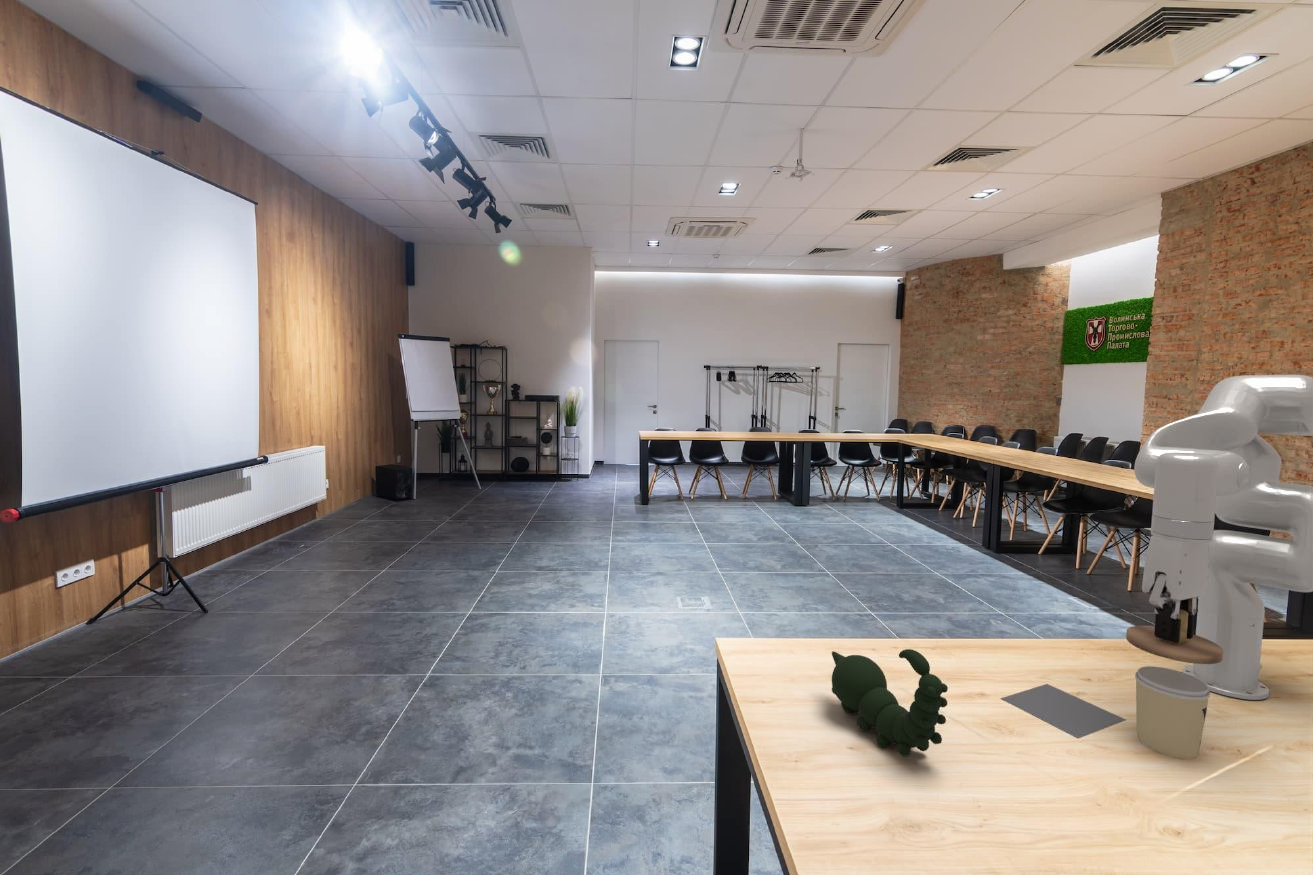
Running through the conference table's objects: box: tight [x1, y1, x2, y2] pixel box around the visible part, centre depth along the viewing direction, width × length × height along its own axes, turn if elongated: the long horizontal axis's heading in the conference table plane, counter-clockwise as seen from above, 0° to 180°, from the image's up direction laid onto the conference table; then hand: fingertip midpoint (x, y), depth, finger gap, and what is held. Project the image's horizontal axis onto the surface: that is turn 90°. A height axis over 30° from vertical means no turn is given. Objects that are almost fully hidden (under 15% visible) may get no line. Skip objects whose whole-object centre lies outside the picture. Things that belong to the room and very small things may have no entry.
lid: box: [1125, 609, 1224, 664], centre depth 96 cm, size 12×12×6 cm
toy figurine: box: [831, 648, 949, 757], centre depth 101 cm, size 9×19×25 cm
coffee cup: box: [1134, 665, 1211, 760], centre depth 97 cm, size 9×9×12 cm
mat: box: [1000, 683, 1127, 739], centre depth 108 cm, size 14×14×1 cm
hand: (1173, 636), depth 96 cm, fingers closed on lid, 3 cm apart
